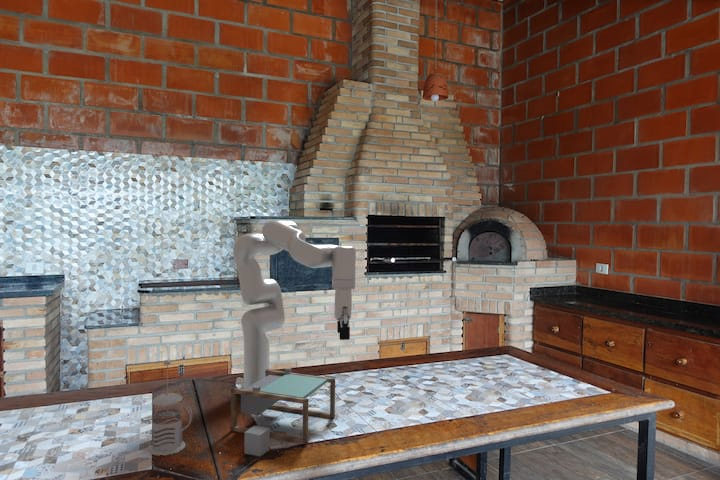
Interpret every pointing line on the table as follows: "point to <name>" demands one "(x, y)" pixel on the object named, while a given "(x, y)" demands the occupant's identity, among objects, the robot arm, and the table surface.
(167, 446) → the french press
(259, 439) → the smooth gray block
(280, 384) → the hatch door
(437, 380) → the table surface
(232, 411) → the stand
